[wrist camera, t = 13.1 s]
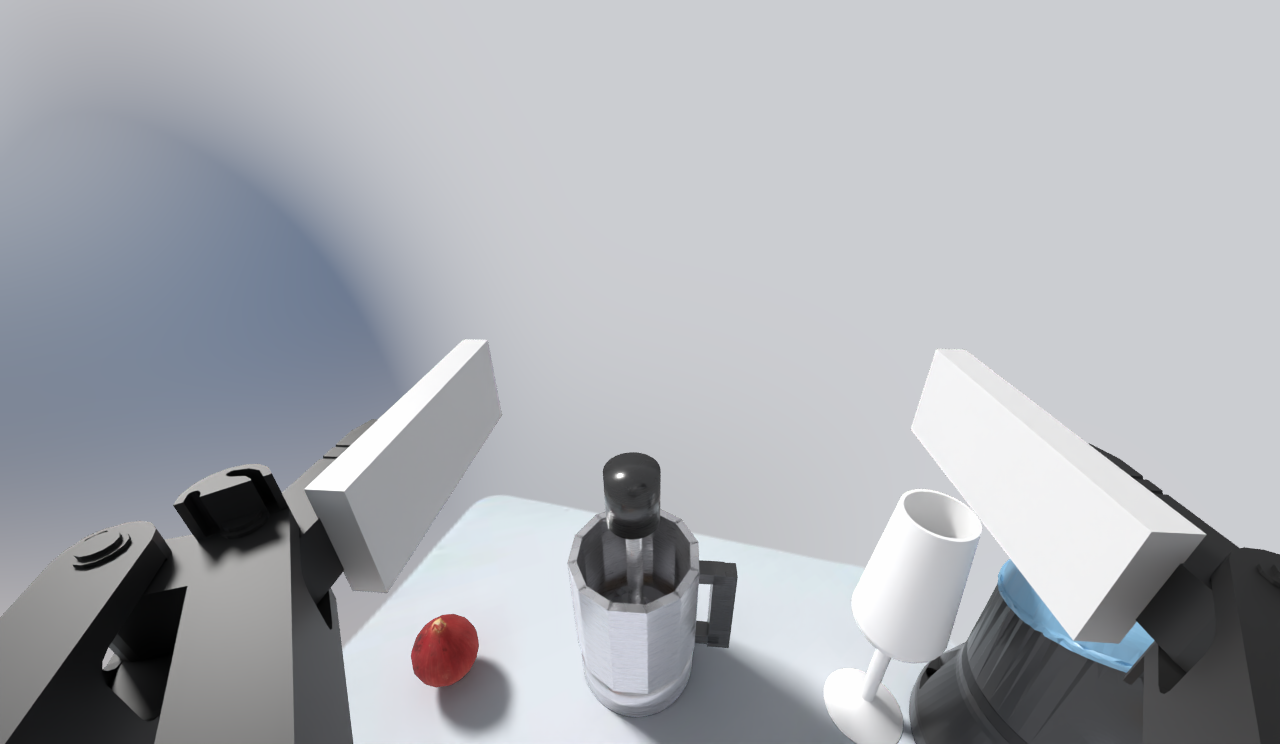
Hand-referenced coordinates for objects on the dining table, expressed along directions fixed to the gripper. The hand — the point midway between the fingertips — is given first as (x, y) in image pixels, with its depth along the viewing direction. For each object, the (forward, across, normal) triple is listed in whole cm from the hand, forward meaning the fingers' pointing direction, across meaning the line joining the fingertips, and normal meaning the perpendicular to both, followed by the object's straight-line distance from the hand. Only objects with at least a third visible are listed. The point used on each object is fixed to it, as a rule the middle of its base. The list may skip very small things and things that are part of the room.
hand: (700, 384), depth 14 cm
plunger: (+15, -4, -35) cm, 39 cm away
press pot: (+15, -2, -40) cm, 43 cm away
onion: (+12, -22, -40) cm, 47 cm away
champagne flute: (+12, +17, -40) cm, 45 cm away
